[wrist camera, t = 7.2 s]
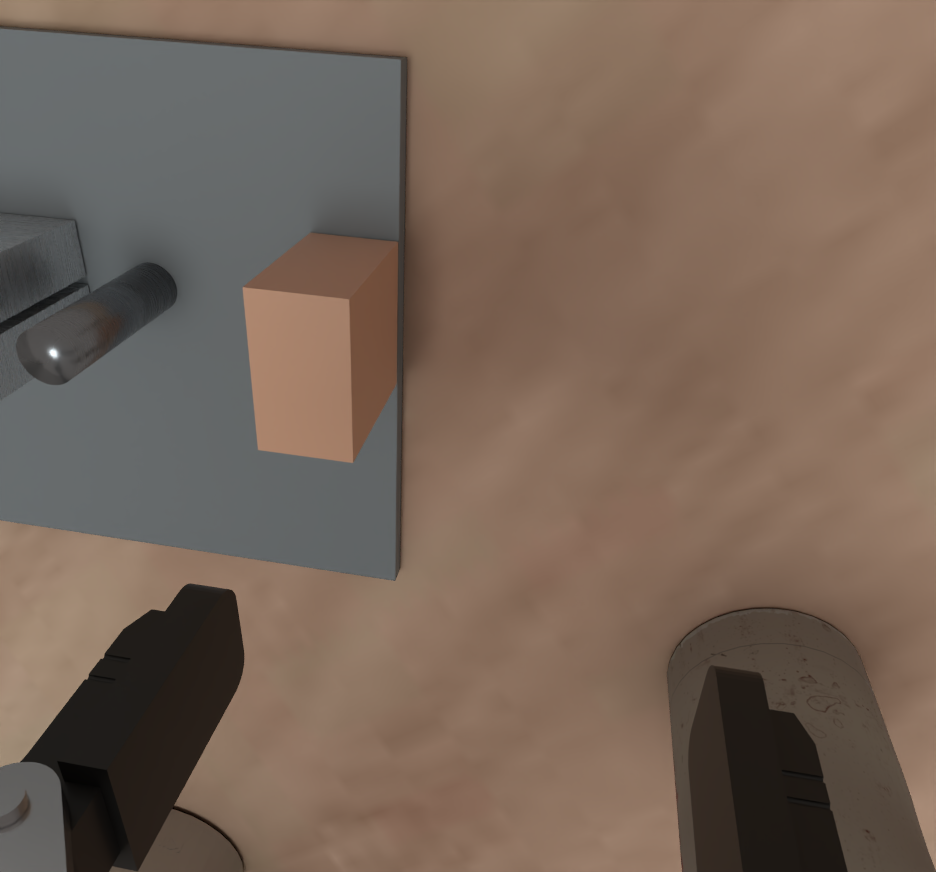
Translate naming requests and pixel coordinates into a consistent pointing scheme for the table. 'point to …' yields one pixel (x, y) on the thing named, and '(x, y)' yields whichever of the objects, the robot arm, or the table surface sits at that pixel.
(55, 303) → the bar
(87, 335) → the post
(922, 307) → the table surface
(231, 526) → the slate board
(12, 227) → the jaw
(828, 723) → the thermos bottle
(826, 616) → the table surface
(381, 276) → the block
